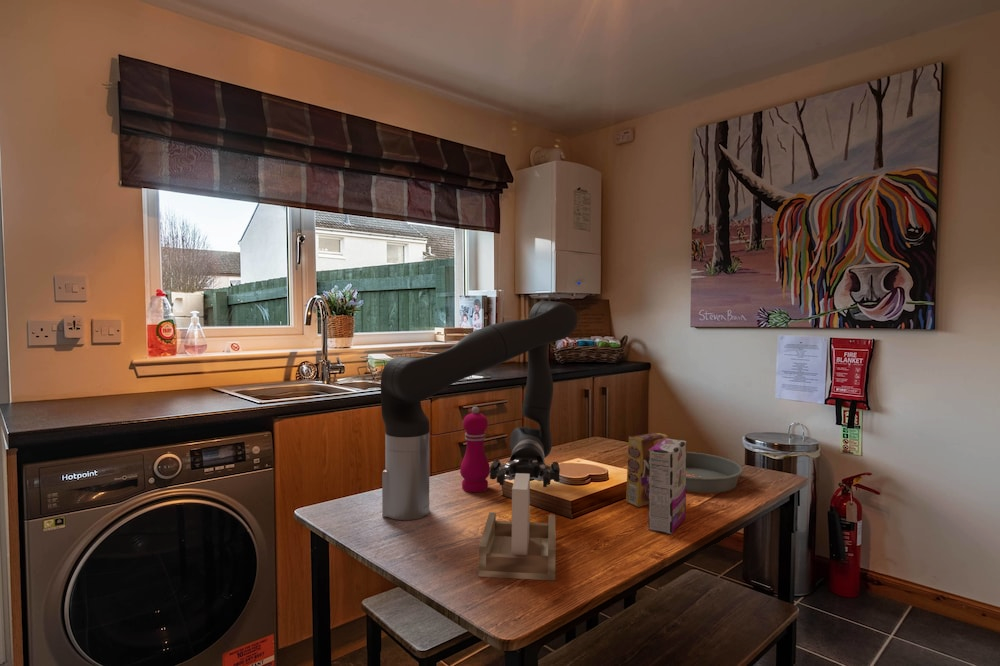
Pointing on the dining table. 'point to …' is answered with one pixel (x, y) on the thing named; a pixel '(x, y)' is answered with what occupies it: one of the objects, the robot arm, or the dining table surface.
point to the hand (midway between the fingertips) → (523, 481)
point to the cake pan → (711, 473)
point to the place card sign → (521, 521)
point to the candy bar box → (667, 485)
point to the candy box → (640, 467)
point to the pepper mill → (475, 453)
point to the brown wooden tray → (517, 564)
